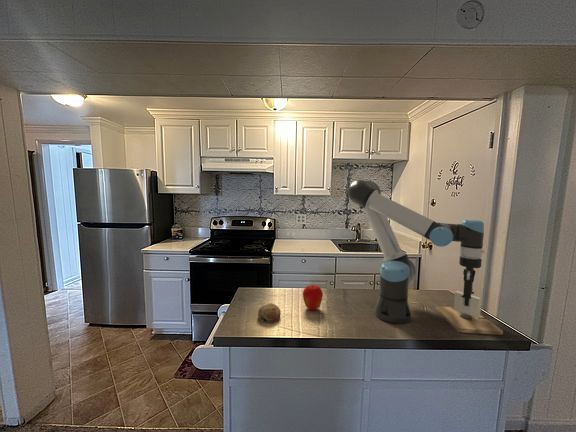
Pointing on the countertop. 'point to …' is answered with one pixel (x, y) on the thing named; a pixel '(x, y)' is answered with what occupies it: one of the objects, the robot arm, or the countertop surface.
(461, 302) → the cream piece
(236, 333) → the countertop surface
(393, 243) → the robot arm
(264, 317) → the bread roll
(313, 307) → the apple
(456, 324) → the light wood flat board
